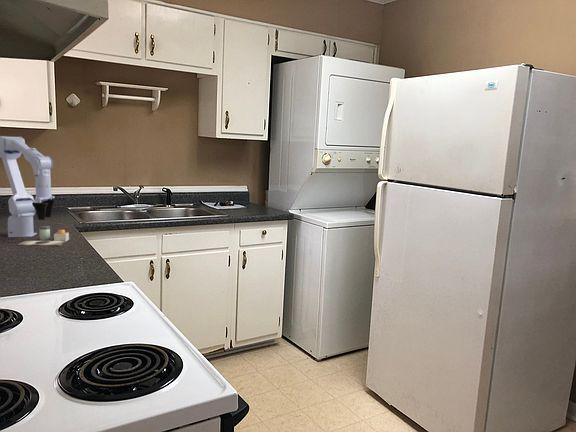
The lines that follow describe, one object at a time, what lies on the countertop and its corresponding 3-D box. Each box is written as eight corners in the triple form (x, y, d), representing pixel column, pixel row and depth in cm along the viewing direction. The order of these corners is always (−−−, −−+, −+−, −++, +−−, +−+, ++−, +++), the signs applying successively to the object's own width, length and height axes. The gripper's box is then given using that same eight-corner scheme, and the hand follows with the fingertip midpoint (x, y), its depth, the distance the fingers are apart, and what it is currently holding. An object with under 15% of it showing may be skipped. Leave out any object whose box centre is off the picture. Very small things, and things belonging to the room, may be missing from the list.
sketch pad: (17, 245, 192) (17, 244, 191) (25, 241, 199) (24, 240, 199) (60, 245, 194) (60, 244, 194) (66, 241, 202) (65, 240, 202)
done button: (56, 237, 202) (56, 230, 202) (59, 236, 205) (58, 229, 205) (64, 237, 203) (63, 230, 202) (66, 236, 205) (65, 229, 205)
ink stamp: (38, 241, 201) (37, 227, 200) (41, 239, 205) (41, 225, 204) (48, 241, 201) (48, 227, 200) (51, 239, 205) (51, 225, 204)
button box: (54, 241, 201) (53, 234, 201) (57, 239, 206) (57, 232, 206) (65, 241, 202) (65, 234, 202) (68, 239, 207) (68, 232, 206)
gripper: (47, 187, 193) (49, 220, 195) (58, 184, 207) (60, 215, 209) (28, 187, 192) (30, 220, 194) (41, 184, 206) (42, 215, 208)
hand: (44, 218), depth 202 cm, fingers open, 7 cm apart
